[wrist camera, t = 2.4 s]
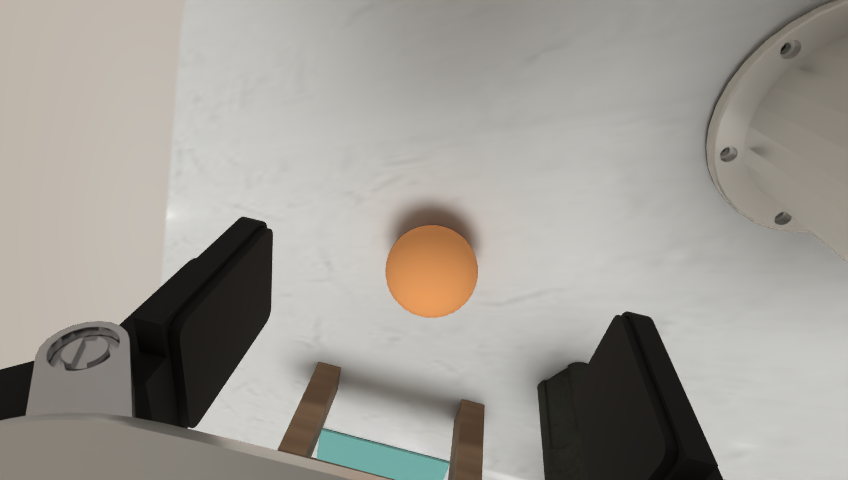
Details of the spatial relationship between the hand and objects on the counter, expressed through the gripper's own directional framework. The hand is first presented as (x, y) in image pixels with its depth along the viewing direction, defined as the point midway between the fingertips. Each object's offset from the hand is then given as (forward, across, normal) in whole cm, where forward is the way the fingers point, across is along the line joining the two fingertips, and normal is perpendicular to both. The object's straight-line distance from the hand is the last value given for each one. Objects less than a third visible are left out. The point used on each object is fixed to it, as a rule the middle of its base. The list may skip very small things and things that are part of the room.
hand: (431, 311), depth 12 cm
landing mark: (+18, 0, +39) cm, 43 cm away
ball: (+15, 0, +9) cm, 18 cm away
